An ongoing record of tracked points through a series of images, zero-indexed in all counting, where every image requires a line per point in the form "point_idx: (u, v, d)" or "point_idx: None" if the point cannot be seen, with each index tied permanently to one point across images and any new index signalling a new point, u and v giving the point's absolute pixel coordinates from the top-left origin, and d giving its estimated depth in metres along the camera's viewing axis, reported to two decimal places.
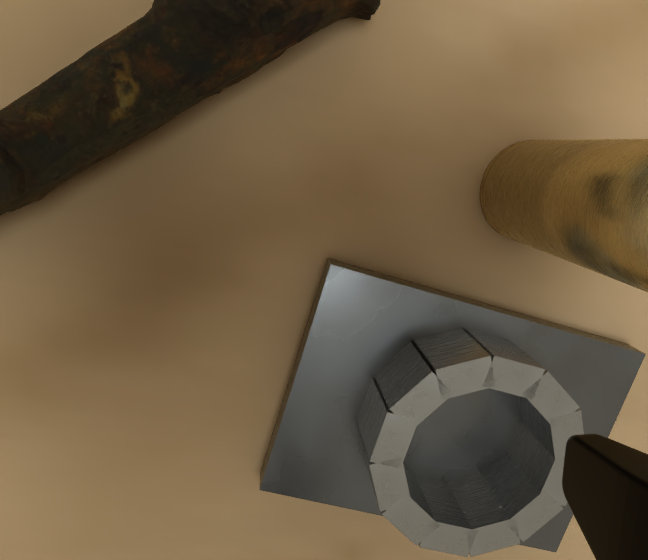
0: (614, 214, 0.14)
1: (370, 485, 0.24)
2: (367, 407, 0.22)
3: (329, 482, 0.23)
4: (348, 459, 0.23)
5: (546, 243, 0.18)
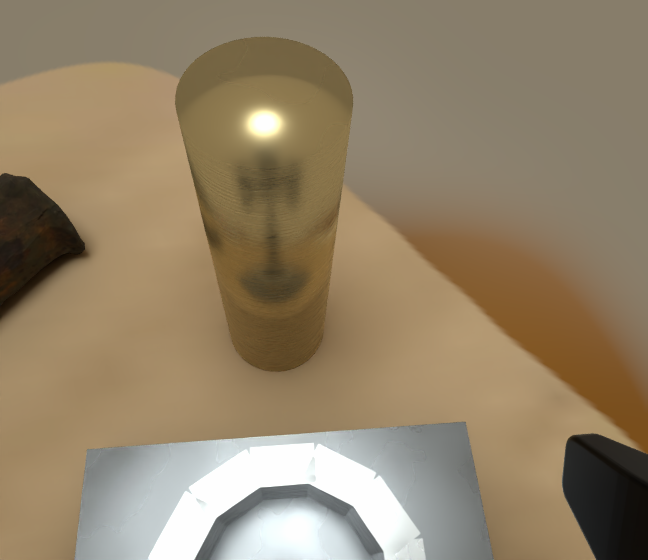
0: (202, 218, 0.16)
1: None
2: None
3: None
4: None
5: (243, 316, 0.19)
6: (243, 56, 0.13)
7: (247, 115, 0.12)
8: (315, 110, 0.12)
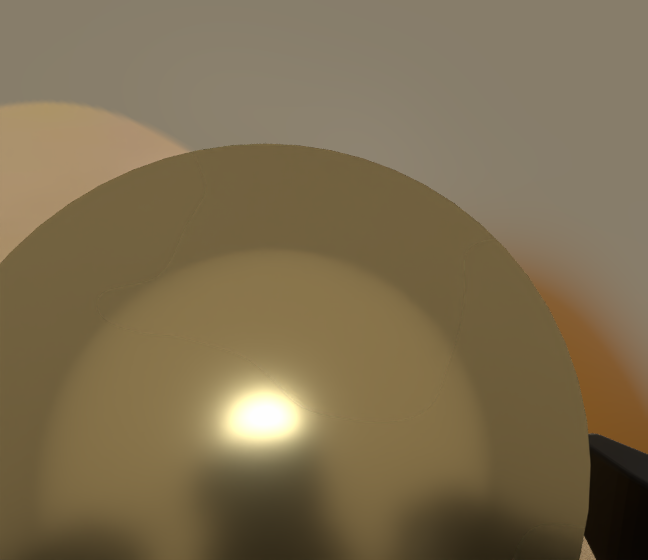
0: None
1: None
2: None
3: None
4: None
5: None
6: (191, 217, 0.04)
7: (194, 495, 0.03)
8: (454, 456, 0.03)
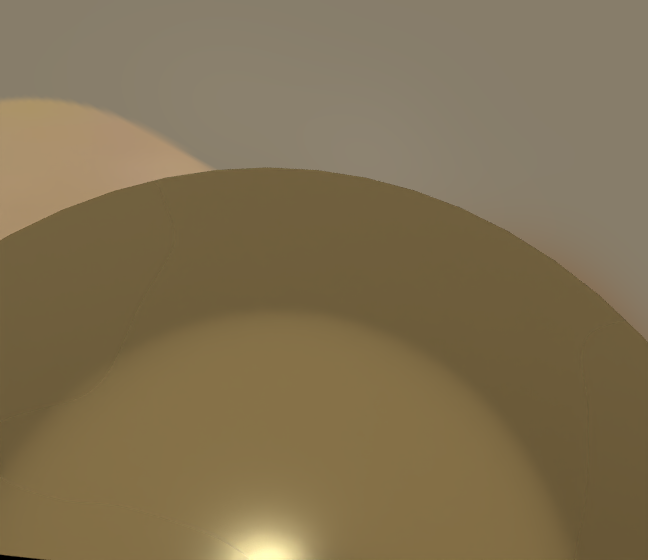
0: None
1: None
2: None
3: None
4: None
5: None
6: (149, 288, 0.03)
7: None
8: None
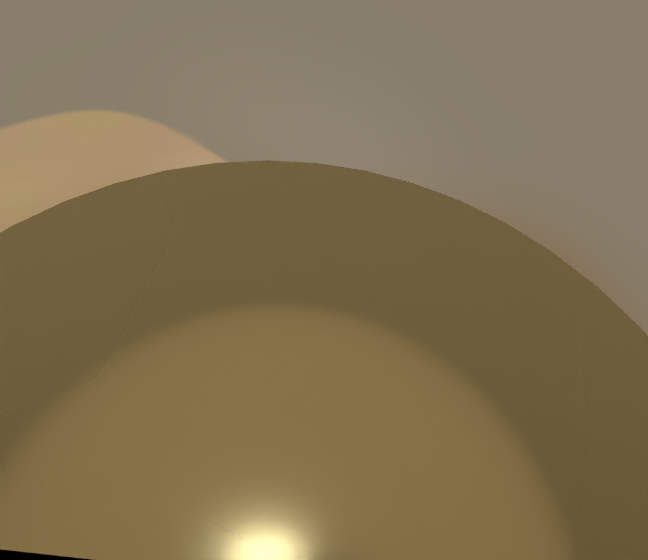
0: None
1: None
2: None
3: None
4: None
5: None
6: (150, 277, 0.03)
7: None
8: None
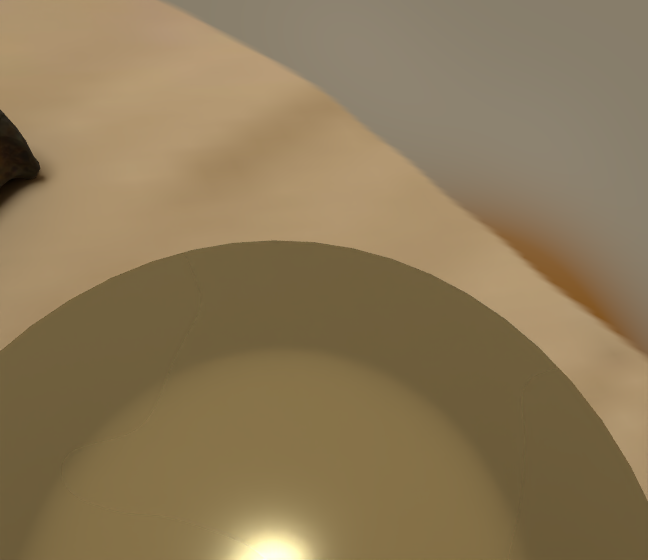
0: None
1: None
2: None
3: None
4: None
5: None
6: (183, 343, 0.03)
7: None
8: None
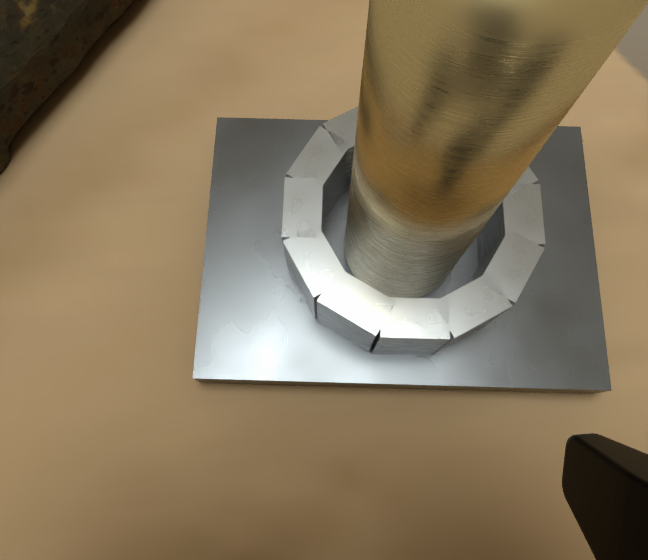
0: (362, 112, 0.11)
1: (327, 343, 0.19)
2: None
3: (276, 350, 0.19)
4: (291, 315, 0.19)
5: (383, 240, 0.15)
6: None
7: None
8: None
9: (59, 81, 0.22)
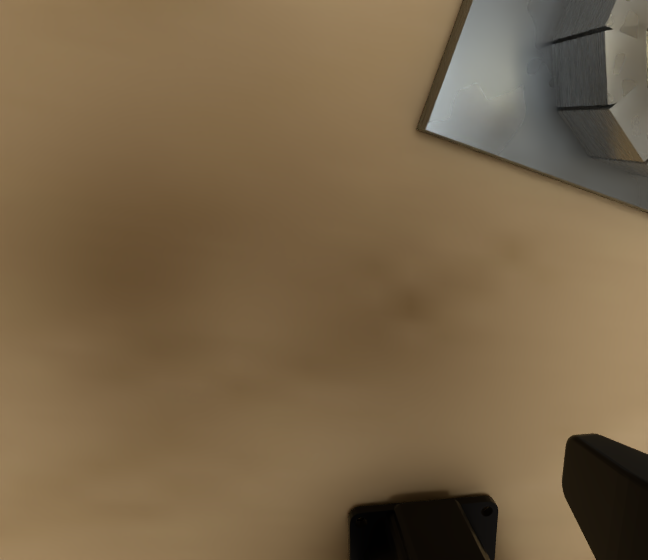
0: None
1: (558, 135, 0.19)
2: (578, 3, 0.17)
3: (509, 127, 0.19)
4: (536, 95, 0.19)
5: None
6: None
7: None
8: None
9: None
